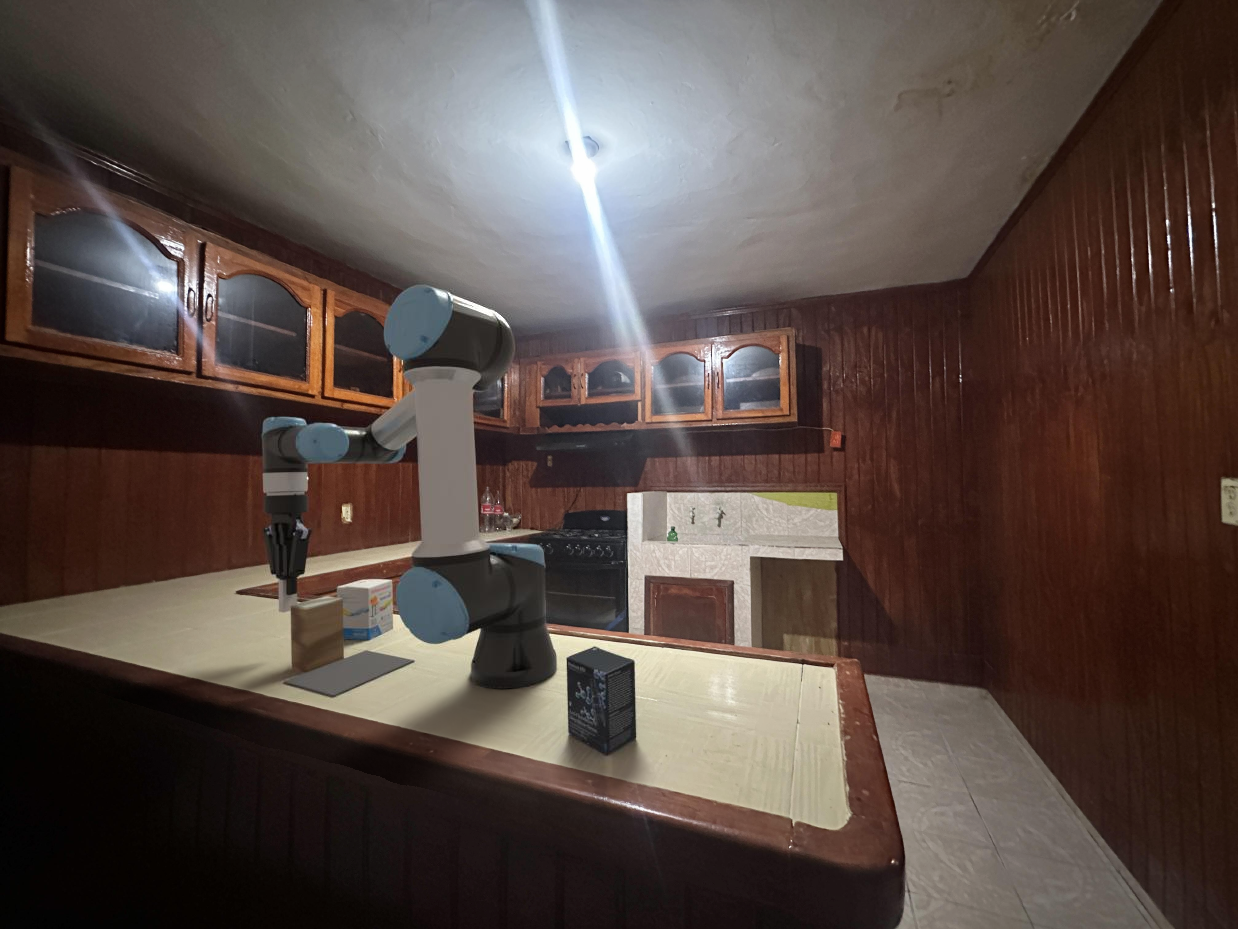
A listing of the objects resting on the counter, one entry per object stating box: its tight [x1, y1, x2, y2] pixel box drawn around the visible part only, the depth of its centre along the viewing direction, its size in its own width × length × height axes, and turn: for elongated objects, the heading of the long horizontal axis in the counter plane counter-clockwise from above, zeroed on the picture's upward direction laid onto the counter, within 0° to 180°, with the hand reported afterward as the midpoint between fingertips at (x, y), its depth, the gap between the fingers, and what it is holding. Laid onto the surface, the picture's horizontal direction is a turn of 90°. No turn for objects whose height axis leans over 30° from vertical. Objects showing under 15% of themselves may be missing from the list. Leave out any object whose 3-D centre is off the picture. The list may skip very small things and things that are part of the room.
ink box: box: [336, 578, 394, 641], centre depth 112 cm, size 9×8×12 cm
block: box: [290, 595, 345, 673], centre depth 94 cm, size 5×7×12 cm
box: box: [565, 645, 637, 756], centre depth 65 cm, size 8×6×11 cm
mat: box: [282, 650, 415, 698], centre depth 89 cm, size 14×16×1 cm
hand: (288, 610), depth 98 cm, fingers closed
